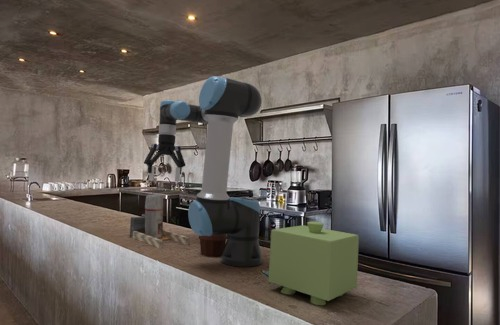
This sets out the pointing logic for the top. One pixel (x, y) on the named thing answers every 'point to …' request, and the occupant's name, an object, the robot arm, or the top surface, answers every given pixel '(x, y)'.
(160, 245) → the track
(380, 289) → the top surface
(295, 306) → the top surface
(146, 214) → the grey cylinder
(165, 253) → the top surface
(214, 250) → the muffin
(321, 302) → the container
